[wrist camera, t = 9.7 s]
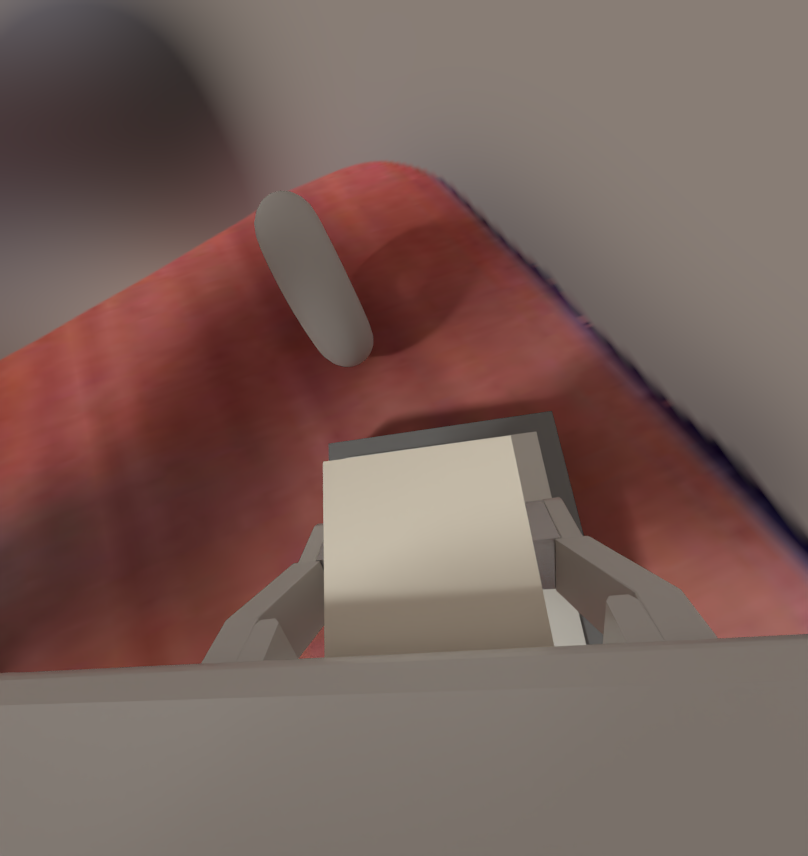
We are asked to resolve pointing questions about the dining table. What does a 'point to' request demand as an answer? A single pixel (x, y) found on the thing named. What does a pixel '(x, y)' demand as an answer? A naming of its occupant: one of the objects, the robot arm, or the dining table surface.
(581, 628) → the charcoal base
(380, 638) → the cream block
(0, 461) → the dining table surface
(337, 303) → the donut
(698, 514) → the dining table surface
